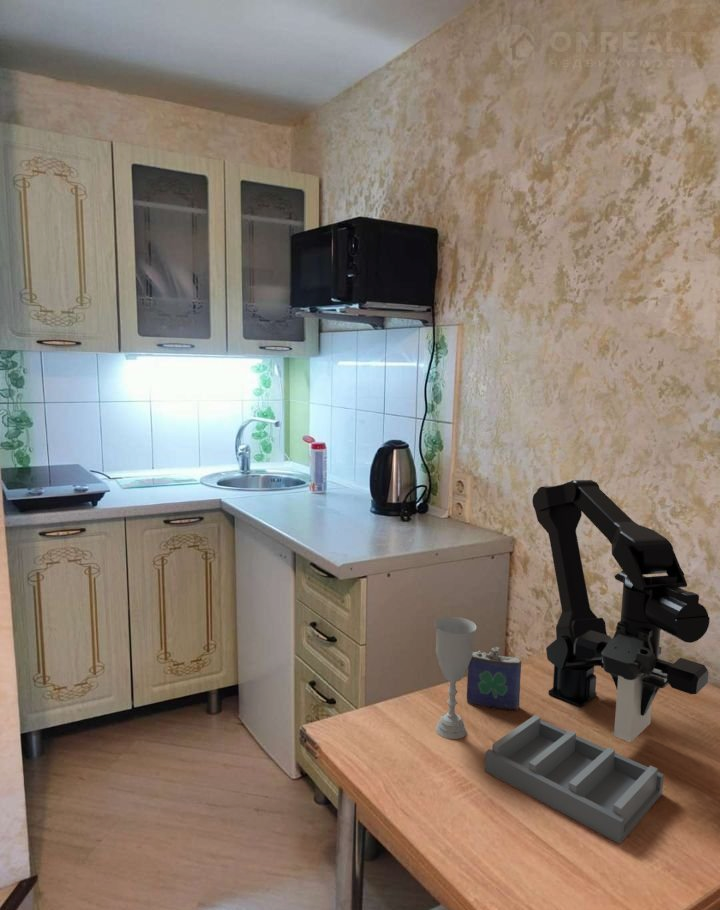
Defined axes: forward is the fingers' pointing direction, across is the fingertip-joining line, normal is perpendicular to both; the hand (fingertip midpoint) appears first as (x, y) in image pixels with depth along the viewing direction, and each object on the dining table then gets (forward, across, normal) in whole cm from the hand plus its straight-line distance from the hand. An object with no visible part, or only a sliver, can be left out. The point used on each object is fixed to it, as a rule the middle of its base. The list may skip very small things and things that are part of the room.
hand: (633, 711), depth 98 cm
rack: (+6, -2, -16) cm, 17 cm away
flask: (+6, -22, -6) cm, 24 cm away
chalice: (+6, -22, -18) cm, 29 cm away
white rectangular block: (+3, 0, 0) cm, 3 cm away
